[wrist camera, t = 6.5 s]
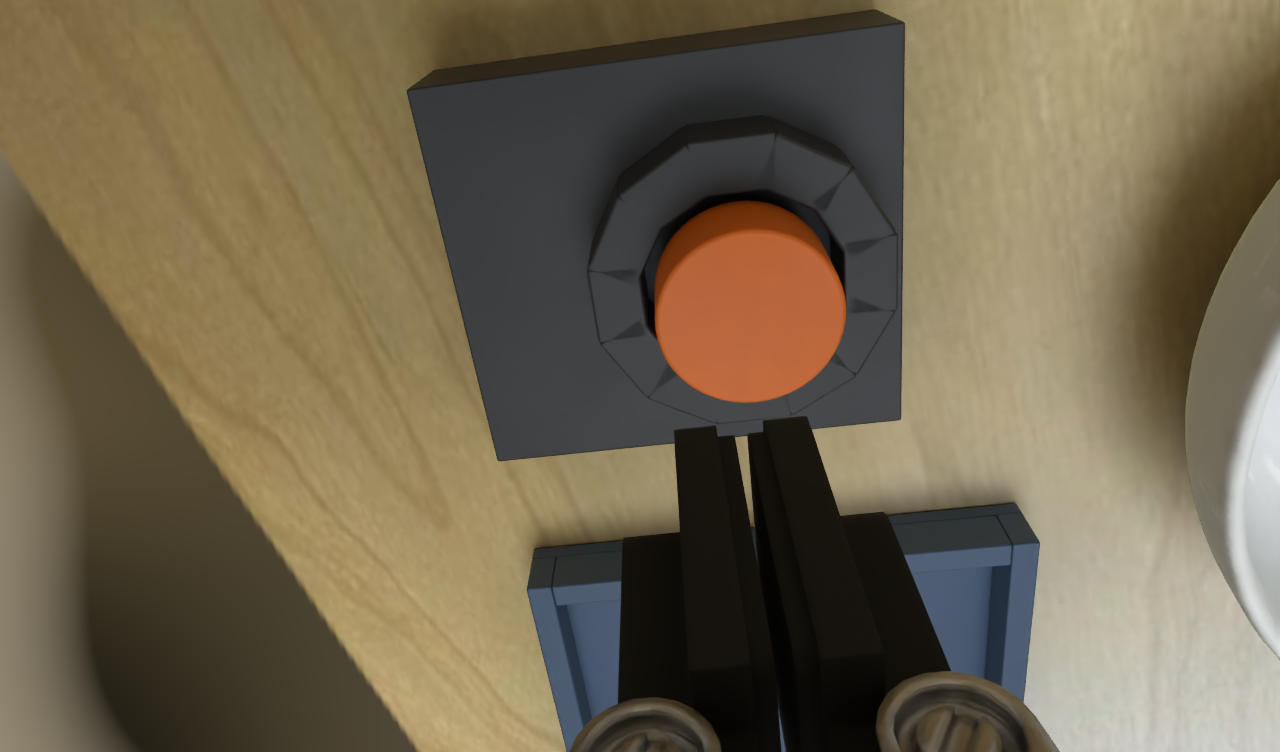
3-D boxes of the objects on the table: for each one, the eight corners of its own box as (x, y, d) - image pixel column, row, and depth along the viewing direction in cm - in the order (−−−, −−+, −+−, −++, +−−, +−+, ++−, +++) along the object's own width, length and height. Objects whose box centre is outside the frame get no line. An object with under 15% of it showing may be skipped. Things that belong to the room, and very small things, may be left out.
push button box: (511, 412, 27) (486, 500, 23) (432, 69, 22) (383, 105, 18) (878, 373, 26) (919, 458, 22) (876, 9, 21) (928, 32, 17)
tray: (603, 845, 36) (601, 893, 34) (533, 548, 29) (526, 589, 27) (989, 818, 35) (1007, 866, 33) (1016, 502, 28) (1040, 542, 26)
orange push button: (665, 370, 21) (666, 413, 19) (644, 210, 19) (643, 241, 18) (832, 352, 21) (848, 394, 19) (826, 188, 19) (845, 217, 17)
